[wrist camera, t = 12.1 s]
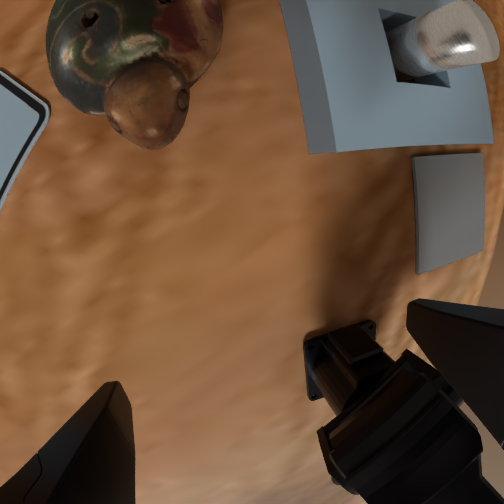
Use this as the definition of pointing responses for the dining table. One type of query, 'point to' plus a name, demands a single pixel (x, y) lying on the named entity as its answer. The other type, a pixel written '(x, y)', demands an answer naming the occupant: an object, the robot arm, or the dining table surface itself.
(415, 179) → the rubber mat
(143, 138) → the decorative turtle
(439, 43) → the steel pin
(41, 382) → the dining table surface
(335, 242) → the dining table surface
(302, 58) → the blue peg hole block
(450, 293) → the dining table surface
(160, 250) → the dining table surface
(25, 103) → the smartphone
